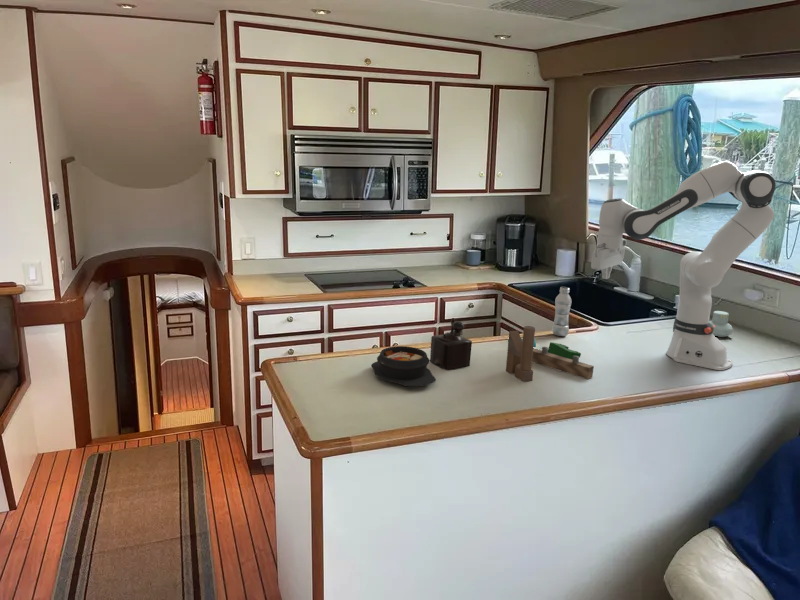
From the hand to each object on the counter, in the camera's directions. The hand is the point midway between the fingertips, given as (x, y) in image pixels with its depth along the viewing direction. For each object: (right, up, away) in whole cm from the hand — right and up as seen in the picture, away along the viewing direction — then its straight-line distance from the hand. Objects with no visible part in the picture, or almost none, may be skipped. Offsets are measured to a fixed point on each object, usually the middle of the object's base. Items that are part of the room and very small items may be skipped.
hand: (605, 278), depth 239 cm
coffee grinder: (-60, -31, -23) cm, 71 cm away
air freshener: (+56, -23, +27) cm, 67 cm away
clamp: (-20, -31, -13) cm, 39 cm away
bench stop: (-23, -32, -21) cm, 44 cm away
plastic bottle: (-13, -23, +17) cm, 32 cm away
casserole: (-77, -34, -35) cm, 91 cm away
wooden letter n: (-38, -34, -29) cm, 59 cm away
